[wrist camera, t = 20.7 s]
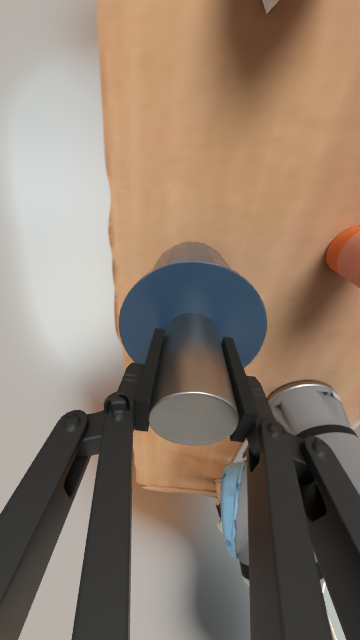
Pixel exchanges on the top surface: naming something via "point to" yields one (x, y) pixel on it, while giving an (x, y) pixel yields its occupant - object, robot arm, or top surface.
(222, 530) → the grandmother figurine
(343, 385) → the top surface
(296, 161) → the top surface
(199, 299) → the tin lid
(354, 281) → the cup with straw
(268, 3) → the white cube
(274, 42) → the top surface
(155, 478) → the top surface
